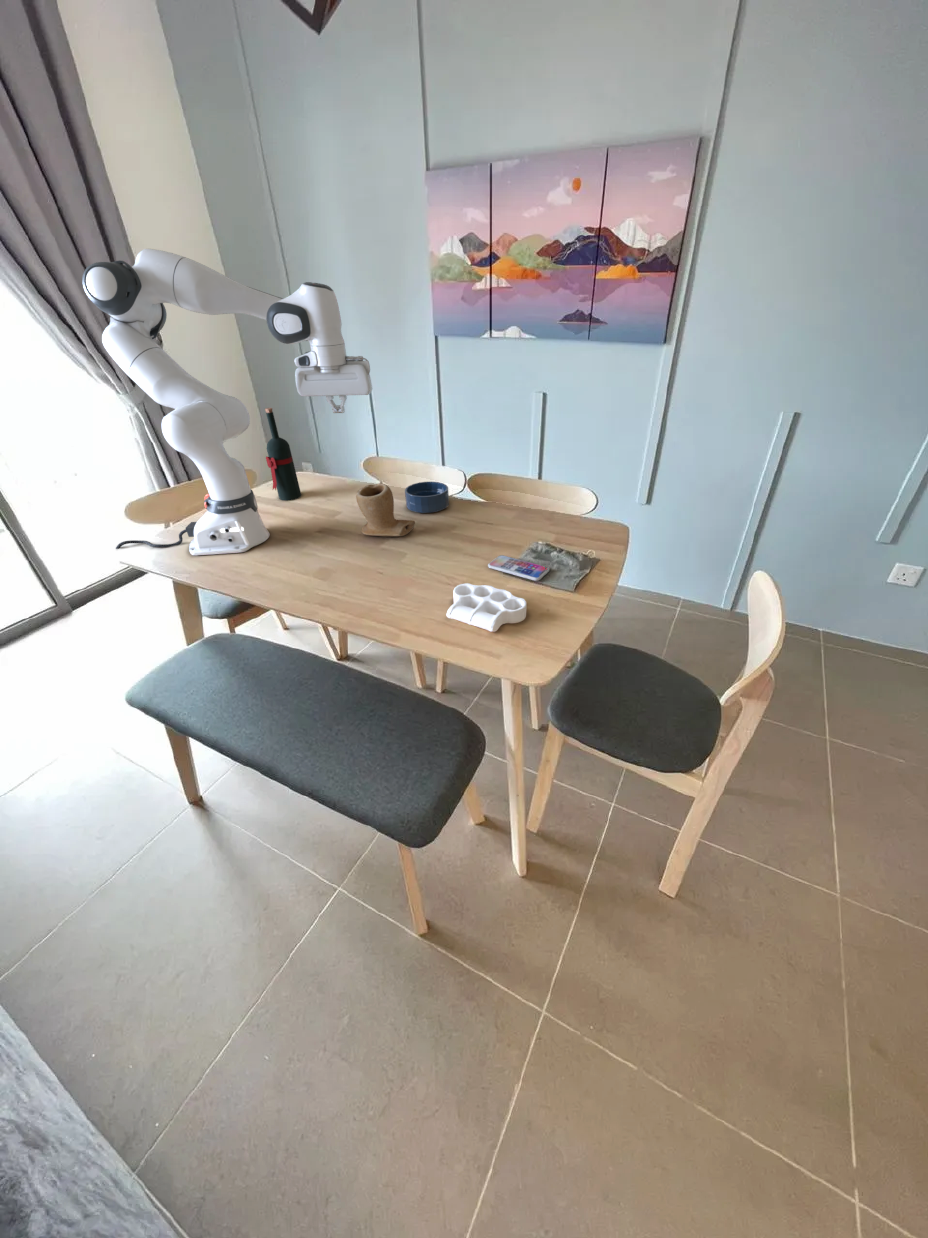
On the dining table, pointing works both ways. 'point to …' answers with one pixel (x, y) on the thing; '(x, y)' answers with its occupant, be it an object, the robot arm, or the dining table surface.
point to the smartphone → (518, 567)
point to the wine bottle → (281, 463)
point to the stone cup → (381, 512)
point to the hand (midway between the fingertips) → (339, 412)
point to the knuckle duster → (486, 606)
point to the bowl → (427, 497)
